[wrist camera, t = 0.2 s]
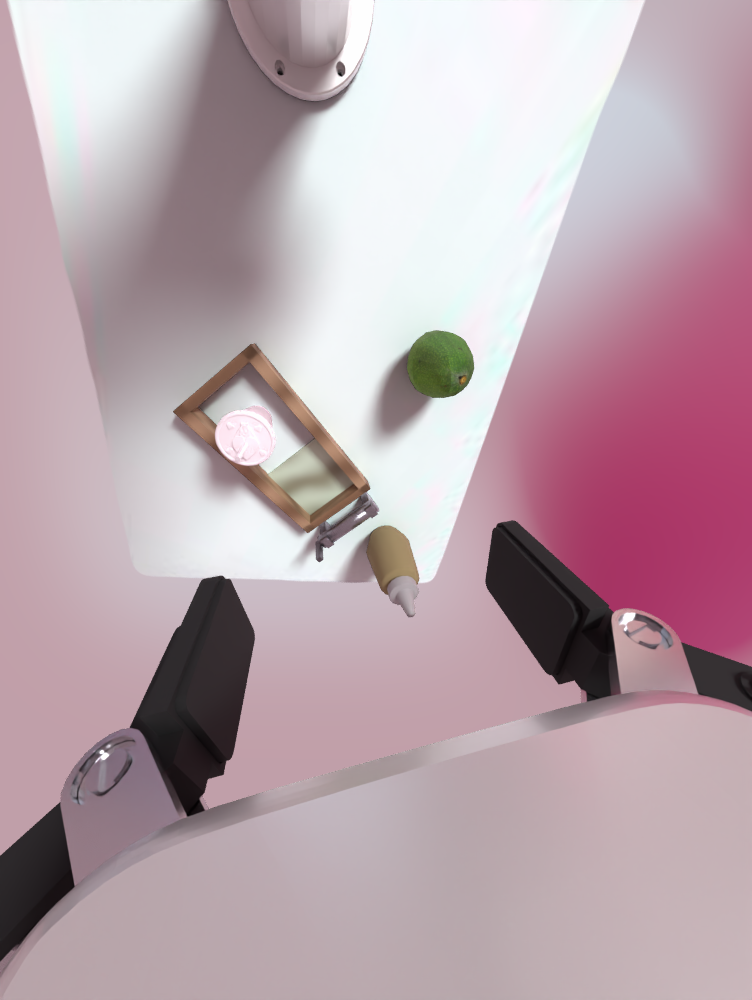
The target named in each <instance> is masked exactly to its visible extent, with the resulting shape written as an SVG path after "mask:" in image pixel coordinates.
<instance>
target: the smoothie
mask: <svg viewBox="0 0 752 1000" xmlns="http://www.w3.org/2000/svg"><path fill="white" fill-rule="evenodd" d="M215 440H216V444H217V446H218V448H219V450H220V451H221V452H222V454H223V455H224V456H225V457H226V458H228V459H229V460H231V461H232V462H234V463H237V464H240V465H245V466H253V465H258V464H260V463H262V462H264V461H266V460H267V459H268V458H269V457H270V455H271V454H272V452H273V450H274V448H275V441H276V439H275V433H274V431H273V429H272V417H271V414H270V413H269V411H268V410H267V409H265V408H264V407H261V406H251V407H249V408H247V409H244V410H236V411H233V412H230V413H228V414H226V415H225V416H223V418H222V419H221V420H220V421H219V423H218V425H217V427H216V430H215Z"/></svg>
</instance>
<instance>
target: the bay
mask: <svg viewBox="0 0 752 1000" xmlns="http://www.w3.org/2000/svg"><path fill="white" fill-rule="evenodd" d="M249 363H251V364H252V365H253V367H254V368H255V369H256V370H257V371H258V372H259V373H260V375H261V376H262V377H263V378H264V379H265V380H266V382H267V383H268V384H269V385H270V386H271V387H272V389H273V390H274V391H275V392H276V393H277V394H278V396H279V397H280V398H281V399H282V400H283V401H284V403H285V404H286V405H287V406H288V407H289V408H290V410H291V411H292V412H293V413H294V414H295V415H296V417H297V418H298V419H299V420H300V421H301V422H302V424H303V425H304V426H305V427H306V428H307V429H308V431H309V432H310V433H311V434H312V435H313V436H314V438H315V439H313V440H312V441H311V442H310V443H308V444H307V445H306V446H304V447H303V448H302V449H300V450H299V451H298V452H297V453H295V454H294V455H293V456H291V457H290V458H289V459H287V460H286V461H285V462H283V463H282V464H281V465H280V466H278V467H277V468H276V469H274V470H273V471H272V472H270V473H269V474H267V473H266V472H265V471H264V470H263V469H262V468H261V467H260V466H259V465H253V466H245V465H240V464H237V463H234V462H232V461H231V460H229V459H228V458H226V457H225V456H224V455H223V454H222V452H221V451H220V450H219V448H218V446H217V444H216V440H215V430H216V427H217V425H216V424H215V423H214V422H213V421H212V420H211V419H210V418H209V417H208V416H207V415H206V414H205V413H204V412H202V411H201V410H200V409H199V408H198V406H199V405H201V404H202V403H203V402H204V401H205V400H206V399H208V398H209V397H210V396H211V395H212V394H213V393H215V392H216V391H217V390H218V389H219V388H221V387H222V386H223V385H224V384H225V383H226V382H228V381H229V380H230V379H231V378H232V377H233V376H235V375H236V374H237V373H238V372H239V371H240V370H242V369H243V368H244V367H245V366H246V365H247V364H249ZM173 412H174V413H175V414H176V415H177V416H178V417H179V418H180V419H181V420H183V421H184V422H185V423H186V424H187V425H188V426H189V427H190V428H191V429H193V430H194V431H195V432H196V433H197V434H198V435H199V436H200V437H201V438H203V439H204V440H205V441H206V442H207V443H208V444H209V445H210V446H211V447H213V448H214V449H215V450H216V451H217V452H218V453H219V454H220V455H221V456H223V457H224V458H225V459H226V460H227V461H228V462H229V463H230V464H231V465H233V466H234V467H235V468H236V469H237V470H238V471H239V472H240V473H241V474H243V475H244V476H245V477H246V478H247V479H248V480H249V481H250V482H251V483H253V484H254V485H255V486H256V487H257V488H258V489H259V490H260V491H261V492H263V493H264V494H265V495H266V496H267V497H268V498H269V499H270V500H271V501H273V502H274V503H275V504H276V505H277V506H278V507H279V508H280V509H281V510H283V511H284V512H285V513H286V514H287V515H288V516H289V517H290V518H291V519H293V520H294V521H295V522H296V523H297V524H298V525H299V526H300V527H301V528H303V529H304V530H305V531H306V532H307V533H309V532H310V531H312V530H313V529H315V528H316V527H317V526H319V525H320V524H322V523H323V522H324V521H326V520H327V519H329V518H330V517H331V516H333V515H334V514H336V513H337V512H339V511H340V510H341V509H343V508H344V507H346V506H347V505H348V504H350V503H351V502H353V501H354V500H355V499H357V498H358V497H360V496H361V495H362V494H364V493H365V492H367V491H368V490H370V486H369V483H368V481H367V479H366V478H365V477H364V476H363V475H362V473H361V472H360V471H359V470H358V468H357V467H356V466H355V465H354V464H353V462H352V461H351V460H350V459H349V458H348V456H347V455H346V454H345V453H344V451H343V450H342V449H341V448H340V447H339V445H338V444H337V443H336V442H335V440H334V439H333V438H332V437H331V436H330V434H329V433H328V432H327V431H326V429H325V428H324V427H323V426H322V425H321V423H320V422H319V421H318V420H317V418H316V417H315V416H314V415H313V414H312V412H311V411H310V410H309V409H308V407H307V406H306V405H305V404H304V403H303V401H302V400H301V399H300V398H299V396H298V395H297V394H296V393H295V392H294V390H293V389H292V388H291V387H290V385H289V384H288V383H287V382H286V381H285V379H284V378H283V377H282V376H281V374H280V373H279V372H278V371H277V370H276V368H275V367H274V366H273V365H272V363H271V362H270V361H269V360H268V359H267V357H266V356H265V355H264V354H263V353H262V351H261V350H260V349H259V348H258V346H257V345H256V344H255V343H254V344H250V345H249V346H248V347H247V348H246V349H245V350H244V351H242V352H241V353H240V354H239V355H238V356H237V357H235V358H234V359H233V360H232V361H231V362H230V363H228V364H227V365H226V366H225V367H224V368H223V369H222V370H220V371H219V372H218V373H217V374H216V375H215V376H213V377H212V378H211V379H210V380H209V381H208V382H206V383H205V384H204V385H203V386H202V387H201V388H200V389H198V390H197V391H196V392H195V393H194V394H193V395H191V396H190V397H189V398H188V399H187V400H186V401H184V402H183V403H182V404H181V405H180V406H179V407H178V408H176V409H175V410H174V411H173Z"/></svg>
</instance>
